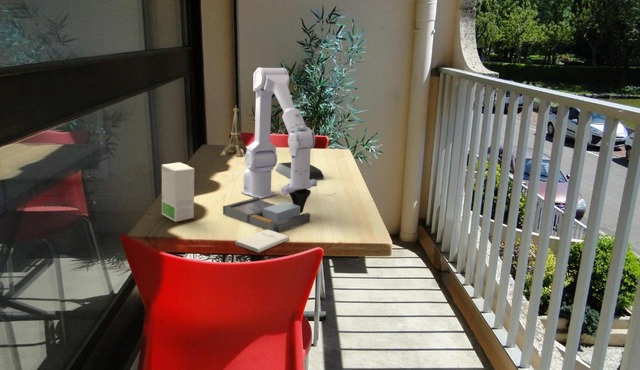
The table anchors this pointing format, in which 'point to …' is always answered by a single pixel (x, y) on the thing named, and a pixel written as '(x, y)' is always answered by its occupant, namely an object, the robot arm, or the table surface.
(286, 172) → the external hard drive
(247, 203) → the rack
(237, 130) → the eiffel tower
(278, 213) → the light grey rectangular block
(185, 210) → the skincare box
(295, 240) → the table surface
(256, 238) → the external hard drive
